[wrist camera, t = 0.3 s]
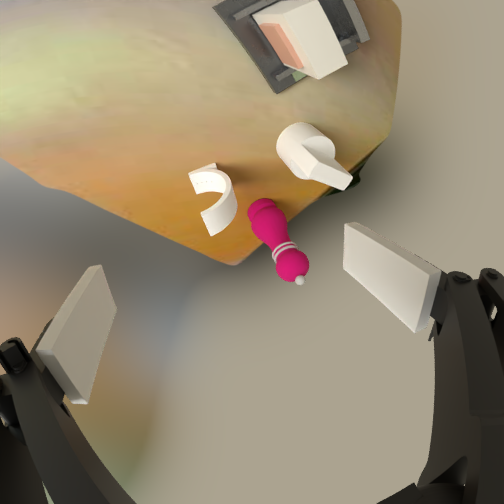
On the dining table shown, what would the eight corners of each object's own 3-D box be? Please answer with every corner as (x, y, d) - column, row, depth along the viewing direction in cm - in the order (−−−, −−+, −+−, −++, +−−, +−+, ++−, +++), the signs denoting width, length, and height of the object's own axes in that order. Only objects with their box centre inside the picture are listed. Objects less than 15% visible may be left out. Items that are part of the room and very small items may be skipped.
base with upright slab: (326, 132, 48) (363, 163, 40) (303, 168, 53) (334, 203, 46) (291, 115, 43) (328, 145, 36) (267, 155, 48) (297, 192, 41)
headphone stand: (188, 172, 45) (201, 215, 38) (220, 160, 45) (241, 200, 38) (195, 191, 49) (210, 236, 41) (226, 180, 49) (247, 222, 42)
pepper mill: (279, 194, 56) (326, 266, 44) (273, 220, 62) (314, 290, 50) (247, 198, 54) (288, 275, 42) (243, 224, 59) (279, 300, 47)
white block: (246, 17, 26) (276, 17, 20) (279, 1, 25) (317, -1, 19) (280, 67, 34) (313, 82, 28) (309, 51, 33) (348, 63, 26)
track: (212, 7, 25) (222, 4, 21) (311, -36, 21) (332, -40, 17) (273, 92, 38) (289, 102, 35) (354, 47, 34) (375, 54, 31)
